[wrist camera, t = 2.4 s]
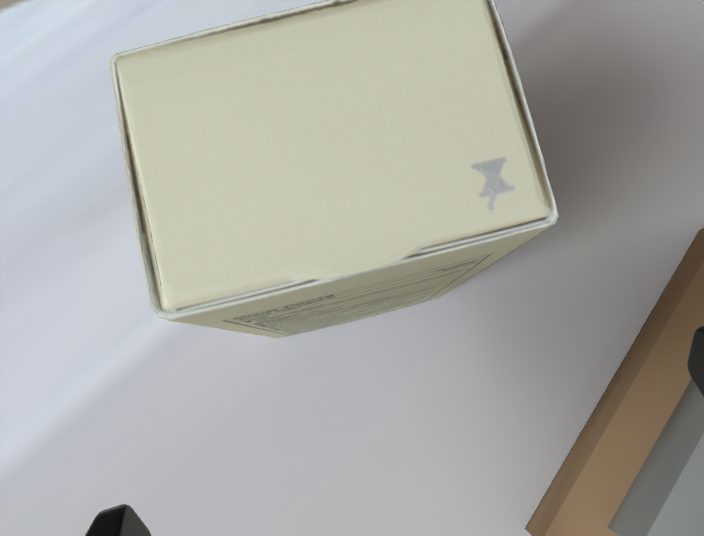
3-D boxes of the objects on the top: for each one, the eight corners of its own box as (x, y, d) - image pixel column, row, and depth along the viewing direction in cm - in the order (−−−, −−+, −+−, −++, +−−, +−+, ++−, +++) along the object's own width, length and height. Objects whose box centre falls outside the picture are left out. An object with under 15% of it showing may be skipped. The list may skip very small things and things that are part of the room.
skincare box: (412, 180, 21) (507, -48, 9) (444, 299, 21) (589, 219, 9) (234, 222, 21) (93, 40, 9) (261, 344, 20) (149, 325, 8)
